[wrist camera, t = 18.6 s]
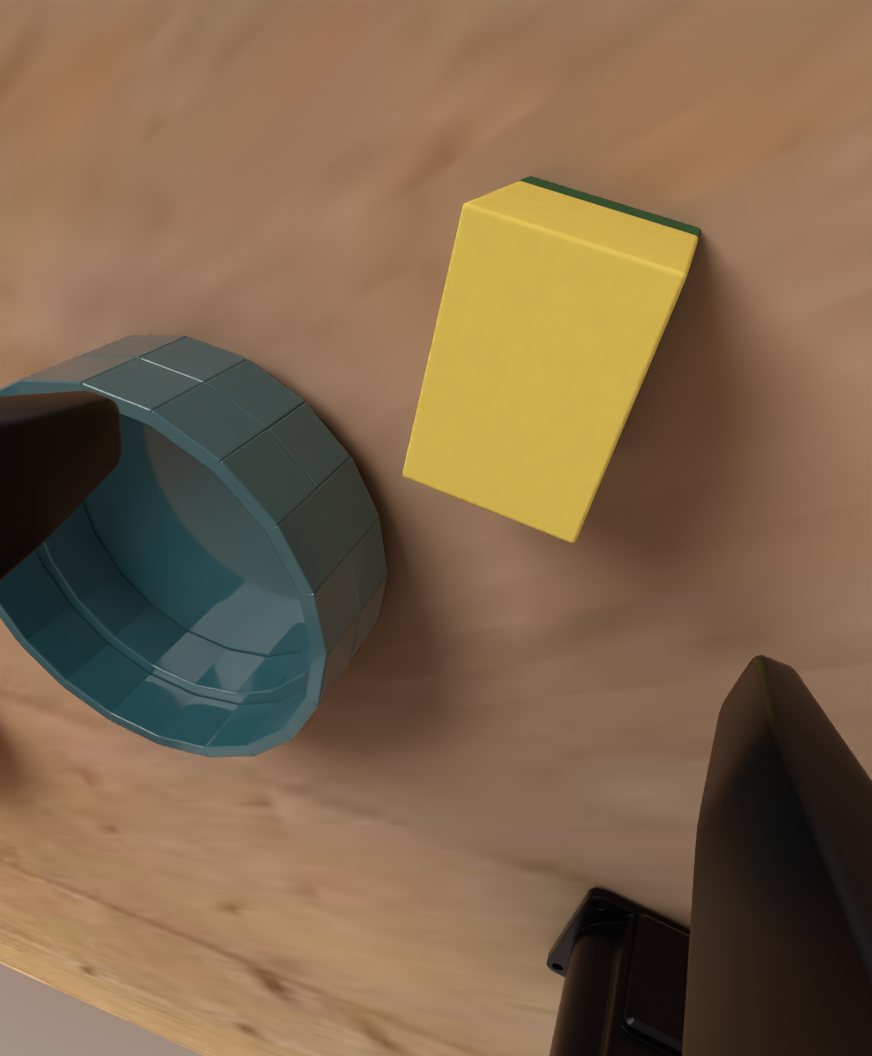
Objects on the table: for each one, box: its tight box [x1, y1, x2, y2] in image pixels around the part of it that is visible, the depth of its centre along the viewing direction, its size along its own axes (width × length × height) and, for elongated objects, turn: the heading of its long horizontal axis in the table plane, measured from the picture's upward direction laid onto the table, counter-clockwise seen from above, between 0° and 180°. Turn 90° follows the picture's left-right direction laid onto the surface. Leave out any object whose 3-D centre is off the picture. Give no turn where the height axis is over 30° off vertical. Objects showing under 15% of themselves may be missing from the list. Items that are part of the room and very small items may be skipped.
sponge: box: [403, 176, 701, 543], centre depth 16 cm, size 6×4×5 cm
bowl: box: [0, 336, 387, 758], centre depth 24 cm, size 14×14×5 cm
